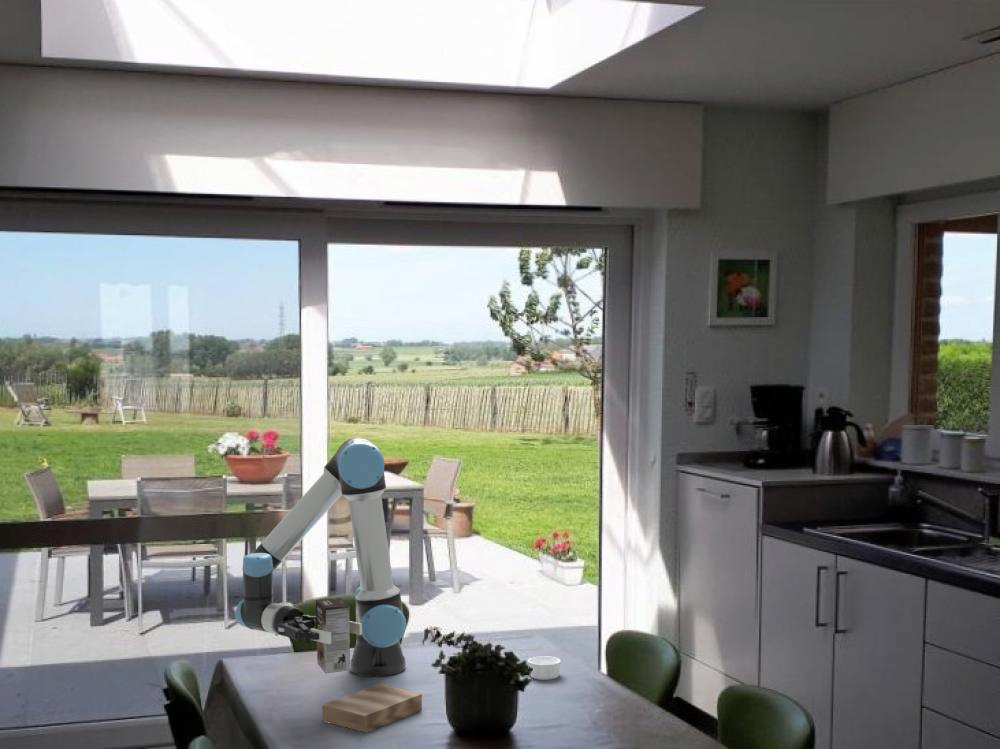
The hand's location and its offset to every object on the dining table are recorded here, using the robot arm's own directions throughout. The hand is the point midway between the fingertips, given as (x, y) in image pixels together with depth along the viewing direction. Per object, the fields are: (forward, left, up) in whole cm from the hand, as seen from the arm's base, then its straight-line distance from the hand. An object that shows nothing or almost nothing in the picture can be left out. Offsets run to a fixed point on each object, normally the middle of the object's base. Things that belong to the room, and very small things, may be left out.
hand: (345, 633), depth 288 cm
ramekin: (-54, +20, -20) cm, 62 cm away
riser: (-3, +5, -20) cm, 21 cm away
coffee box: (0, -4, -9) cm, 10 cm away
